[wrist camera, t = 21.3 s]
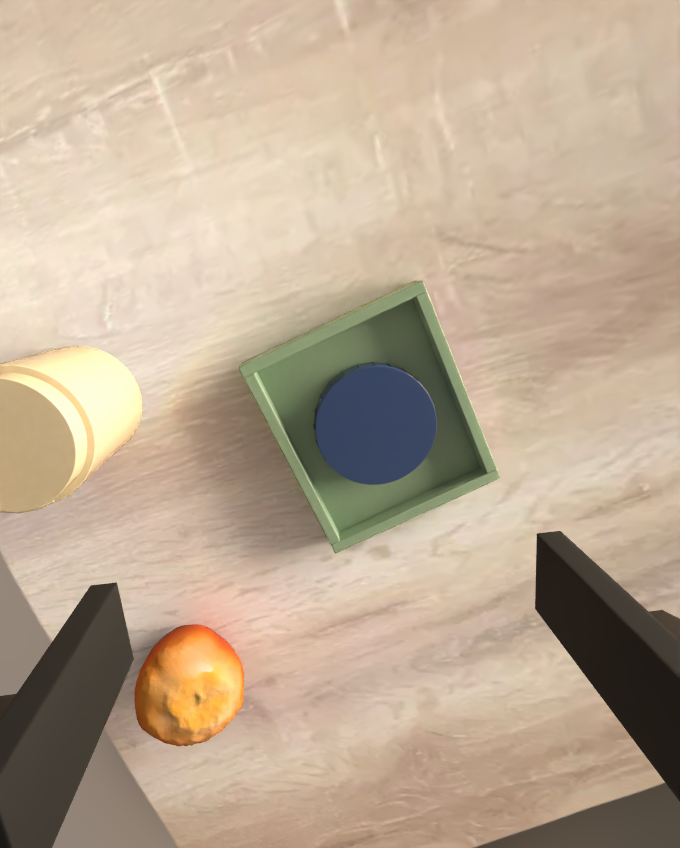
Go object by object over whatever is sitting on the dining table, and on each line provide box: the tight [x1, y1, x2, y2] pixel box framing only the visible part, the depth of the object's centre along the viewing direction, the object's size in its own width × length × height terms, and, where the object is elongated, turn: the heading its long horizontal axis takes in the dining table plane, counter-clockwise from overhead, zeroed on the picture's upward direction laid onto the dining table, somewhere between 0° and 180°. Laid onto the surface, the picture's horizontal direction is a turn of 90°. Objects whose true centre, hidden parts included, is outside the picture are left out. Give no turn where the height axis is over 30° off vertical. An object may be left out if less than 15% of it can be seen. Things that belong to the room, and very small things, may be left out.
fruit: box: [135, 625, 244, 746], centre depth 39 cm, size 8×8×8 cm
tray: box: [239, 281, 500, 553], centre depth 37 cm, size 16×14×2 cm
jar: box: [0, 346, 142, 513], centre depth 31 cm, size 8×8×10 cm
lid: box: [313, 362, 437, 485], centre depth 37 cm, size 9×9×2 cm
